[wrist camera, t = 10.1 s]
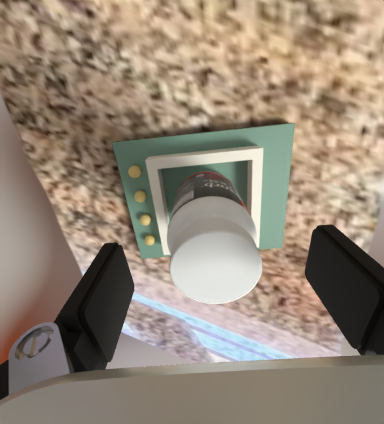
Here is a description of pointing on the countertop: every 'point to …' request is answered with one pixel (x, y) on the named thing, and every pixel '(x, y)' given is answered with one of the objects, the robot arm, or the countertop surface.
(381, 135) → the countertop surface
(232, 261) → the pill bottle
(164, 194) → the board
